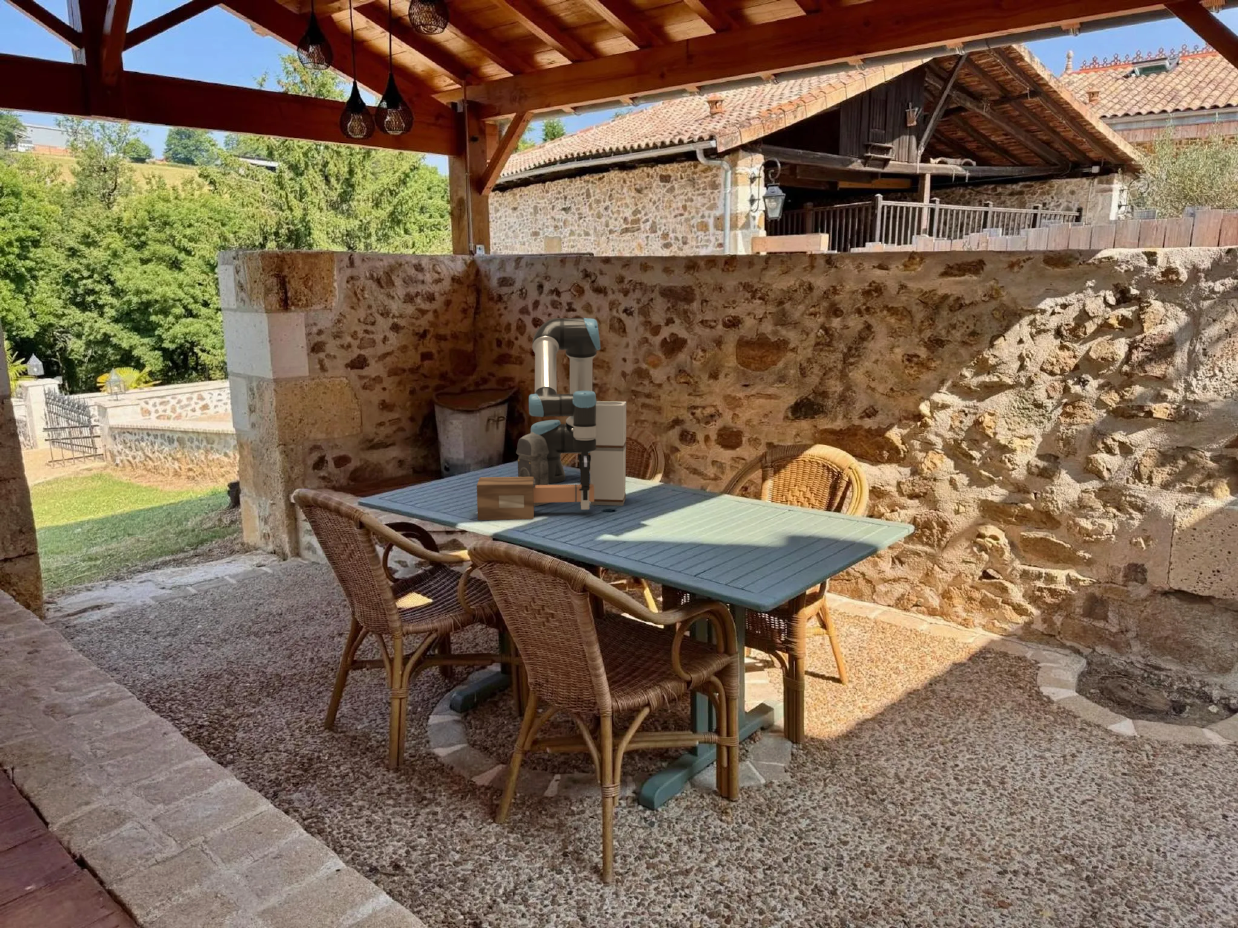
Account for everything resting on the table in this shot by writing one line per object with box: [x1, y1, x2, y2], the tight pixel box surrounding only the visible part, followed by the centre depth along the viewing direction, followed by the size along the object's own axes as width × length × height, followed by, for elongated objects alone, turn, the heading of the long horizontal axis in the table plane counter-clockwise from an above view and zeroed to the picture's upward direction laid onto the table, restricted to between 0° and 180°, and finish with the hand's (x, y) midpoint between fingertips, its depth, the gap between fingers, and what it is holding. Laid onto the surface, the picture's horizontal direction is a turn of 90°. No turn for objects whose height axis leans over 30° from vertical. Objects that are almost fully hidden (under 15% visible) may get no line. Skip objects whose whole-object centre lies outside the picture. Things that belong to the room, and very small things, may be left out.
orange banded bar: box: [533, 484, 594, 503], centre depth 273 cm, size 4×25×5 cm, turn 95°
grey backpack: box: [515, 431, 551, 507], centre depth 288 cm, size 10×14×25 cm
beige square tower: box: [589, 400, 627, 507], centre depth 288 cm, size 11×11×35 cm
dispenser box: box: [476, 476, 535, 521], centre depth 272 cm, size 12×19×12 cm, turn 95°
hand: (584, 507), depth 275 cm, fingers closed on orange banded bar, 4 cm apart
